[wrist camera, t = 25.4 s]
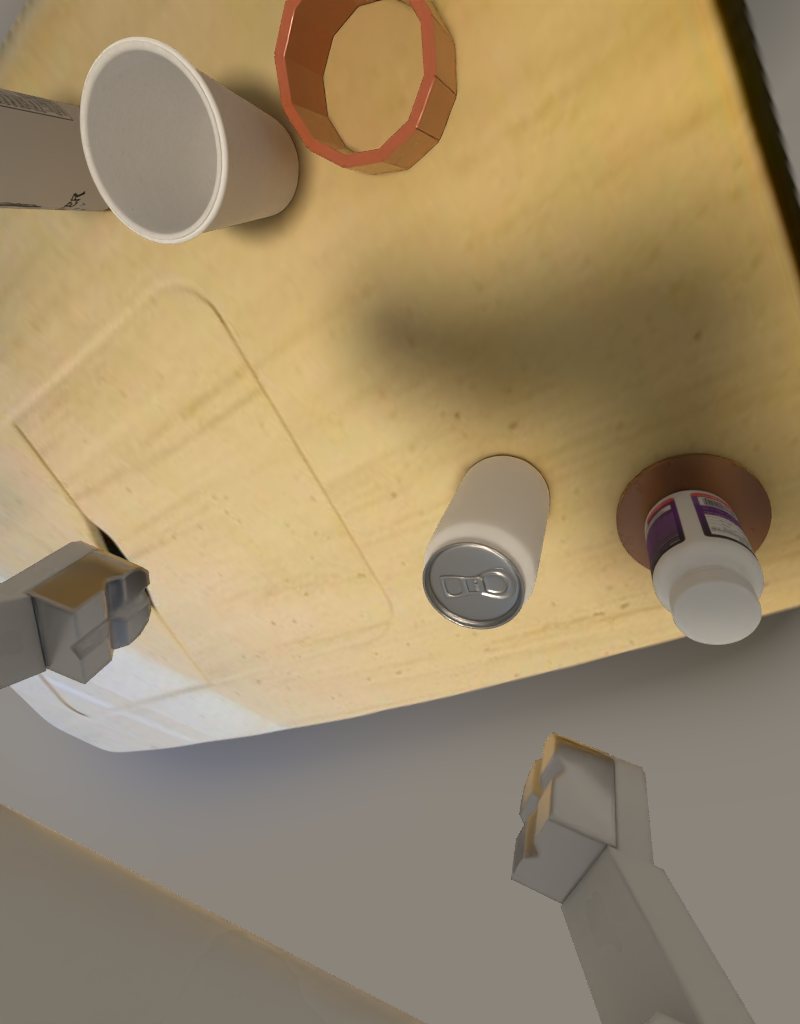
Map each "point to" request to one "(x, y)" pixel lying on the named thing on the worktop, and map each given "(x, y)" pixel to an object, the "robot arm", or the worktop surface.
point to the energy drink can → (43, 156)
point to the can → (488, 544)
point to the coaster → (692, 475)
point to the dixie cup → (179, 145)
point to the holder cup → (300, 66)
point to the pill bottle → (704, 567)
